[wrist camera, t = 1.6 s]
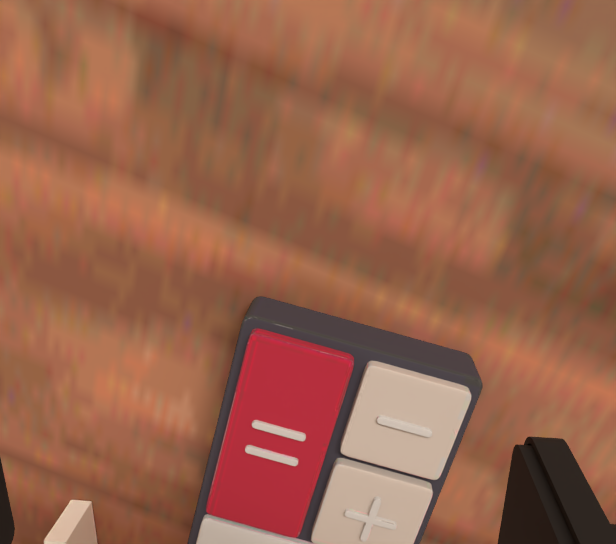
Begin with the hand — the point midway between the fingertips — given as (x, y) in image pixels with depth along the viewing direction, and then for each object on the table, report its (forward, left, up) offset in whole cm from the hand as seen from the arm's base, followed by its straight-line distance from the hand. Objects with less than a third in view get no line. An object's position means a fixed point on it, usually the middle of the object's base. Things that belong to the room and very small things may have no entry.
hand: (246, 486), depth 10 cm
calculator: (0, +12, -18) cm, 21 cm away
